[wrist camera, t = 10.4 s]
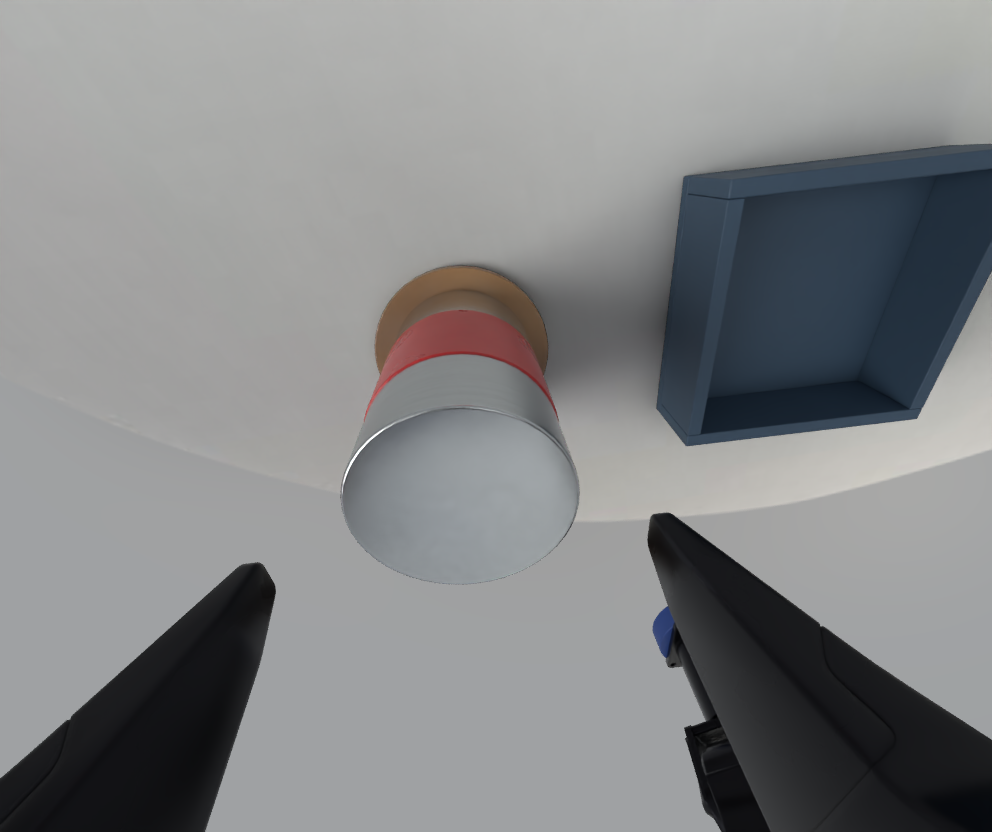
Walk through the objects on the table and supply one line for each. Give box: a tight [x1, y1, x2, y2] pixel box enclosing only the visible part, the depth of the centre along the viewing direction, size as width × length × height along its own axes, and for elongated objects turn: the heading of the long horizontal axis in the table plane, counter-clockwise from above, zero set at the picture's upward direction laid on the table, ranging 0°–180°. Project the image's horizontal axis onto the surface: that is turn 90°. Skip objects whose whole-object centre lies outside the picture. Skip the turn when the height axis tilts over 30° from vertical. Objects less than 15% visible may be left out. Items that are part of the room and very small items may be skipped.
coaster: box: [375, 266, 548, 375], centre depth 20 cm, size 8×8×1 cm
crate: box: [657, 144, 992, 446], centre depth 18 cm, size 11×11×4 cm
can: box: [341, 290, 580, 584], centre depth 15 cm, size 6×6×10 cm
